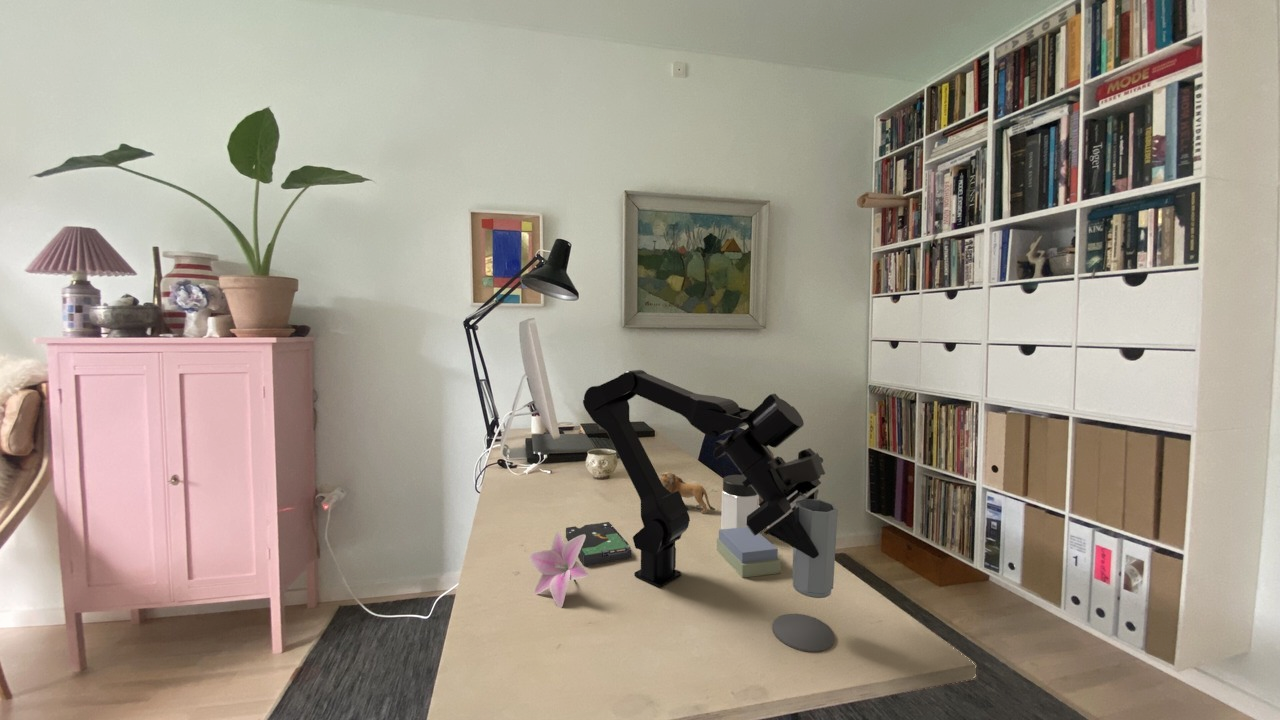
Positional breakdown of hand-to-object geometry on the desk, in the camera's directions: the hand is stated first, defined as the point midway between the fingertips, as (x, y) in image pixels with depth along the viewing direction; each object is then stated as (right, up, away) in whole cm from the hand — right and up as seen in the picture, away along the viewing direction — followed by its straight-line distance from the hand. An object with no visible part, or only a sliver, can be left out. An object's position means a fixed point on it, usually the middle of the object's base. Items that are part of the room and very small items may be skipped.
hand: (822, 548), depth 75 cm
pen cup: (-1, -7, +1) cm, 7 cm away
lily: (-42, -12, +13) cm, 45 cm away
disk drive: (-37, -12, +30) cm, 49 cm away
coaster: (-3, -13, +1) cm, 14 cm away
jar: (-5, -11, +39) cm, 41 cm away
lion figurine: (-16, -10, +53) cm, 57 cm away
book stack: (-6, -12, +24) cm, 28 cm away
